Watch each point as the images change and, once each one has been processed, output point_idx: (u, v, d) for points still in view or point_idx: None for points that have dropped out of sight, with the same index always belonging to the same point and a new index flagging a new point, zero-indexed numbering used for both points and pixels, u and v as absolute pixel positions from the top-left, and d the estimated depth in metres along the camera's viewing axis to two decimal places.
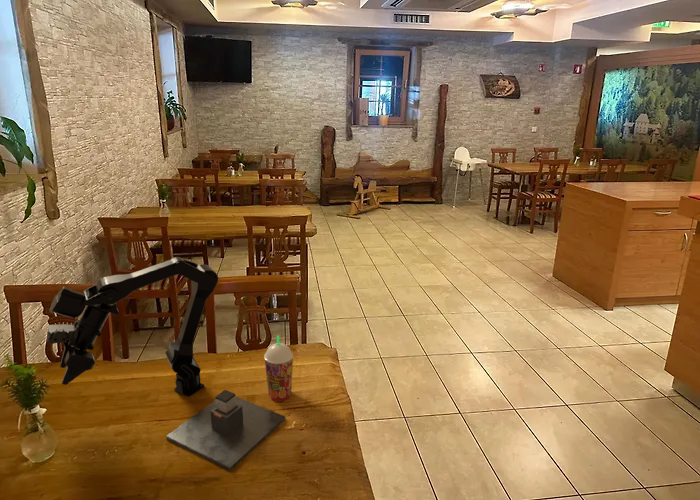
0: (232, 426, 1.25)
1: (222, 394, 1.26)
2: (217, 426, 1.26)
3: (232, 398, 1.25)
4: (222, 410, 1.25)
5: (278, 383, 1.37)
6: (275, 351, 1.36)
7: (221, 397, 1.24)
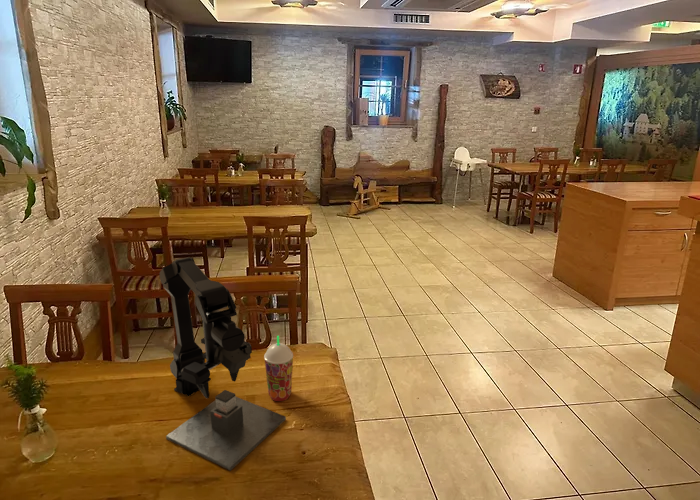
0: (232, 426, 1.25)
1: (222, 394, 1.26)
2: (217, 426, 1.26)
3: (232, 398, 1.25)
4: (222, 410, 1.25)
5: (278, 383, 1.37)
6: (275, 351, 1.36)
7: (221, 397, 1.24)
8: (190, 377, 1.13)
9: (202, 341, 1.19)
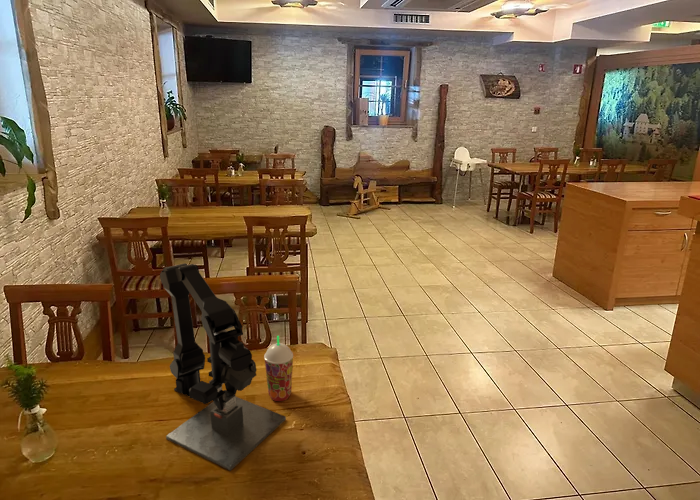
0: (232, 426, 1.25)
1: None
2: (217, 426, 1.26)
3: (232, 398, 1.25)
4: (222, 410, 1.25)
5: (278, 383, 1.37)
6: (275, 351, 1.36)
7: None
8: (198, 397, 1.16)
9: (208, 360, 1.21)
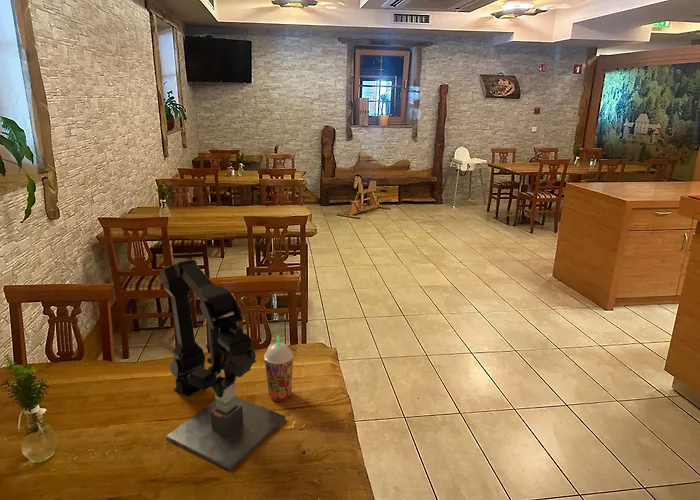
0: (232, 426, 1.25)
1: None
2: (217, 426, 1.26)
3: (231, 385, 1.24)
4: (221, 397, 1.24)
5: (278, 383, 1.37)
6: (275, 351, 1.36)
7: None
8: (197, 383, 1.14)
9: (207, 346, 1.20)
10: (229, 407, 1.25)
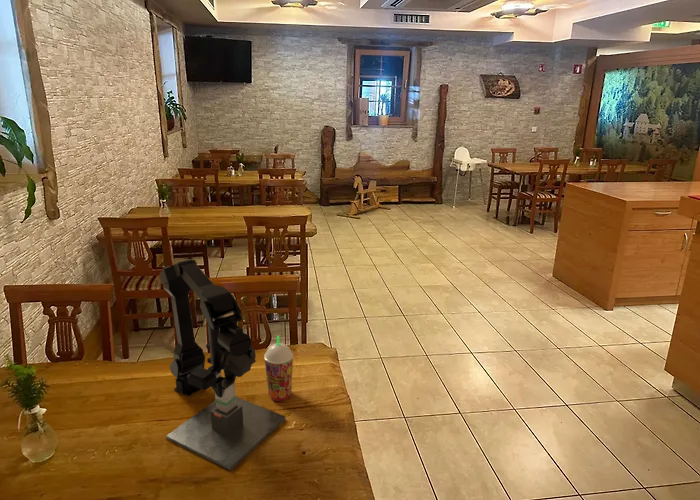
0: (232, 426, 1.25)
1: None
2: (217, 426, 1.26)
3: (231, 385, 1.24)
4: (221, 397, 1.24)
5: (278, 383, 1.37)
6: (275, 351, 1.36)
7: None
8: (197, 383, 1.14)
9: (207, 346, 1.20)
10: (229, 407, 1.25)
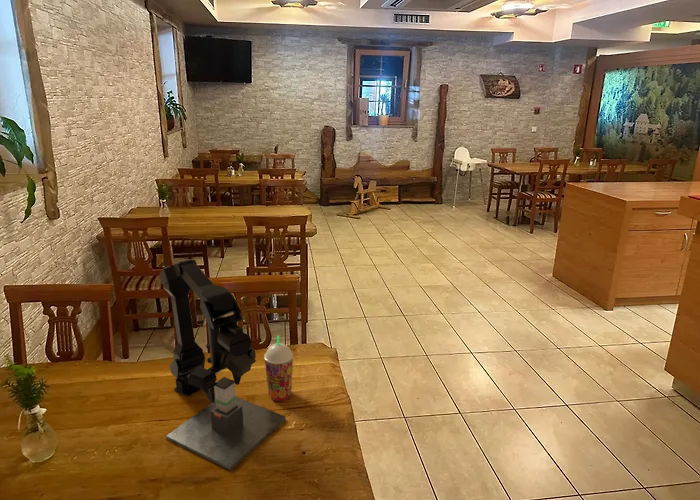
0: (232, 426, 1.25)
1: (221, 381, 1.25)
2: (217, 426, 1.26)
3: (231, 385, 1.24)
4: (221, 397, 1.24)
5: (278, 383, 1.37)
6: (275, 351, 1.36)
7: (220, 384, 1.23)
8: (197, 383, 1.14)
9: (207, 346, 1.20)
10: (229, 407, 1.25)
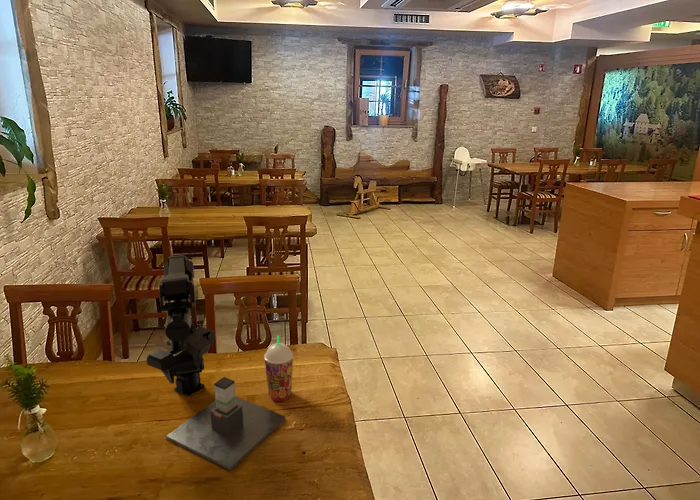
0: (232, 426, 1.25)
1: (221, 381, 1.25)
2: (217, 426, 1.26)
3: (231, 385, 1.24)
4: (221, 397, 1.24)
5: (278, 383, 1.37)
6: (275, 351, 1.36)
7: (220, 384, 1.23)
8: (155, 364, 1.19)
9: None
10: (229, 407, 1.25)
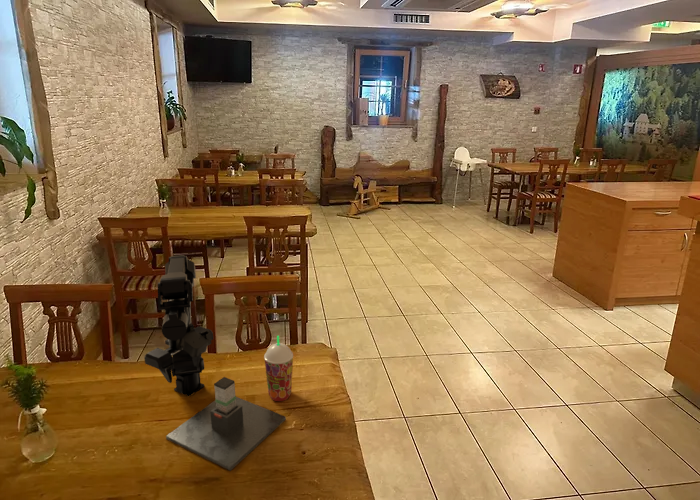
0: (232, 426, 1.25)
1: (221, 381, 1.25)
2: (217, 426, 1.26)
3: (231, 385, 1.24)
4: (221, 397, 1.24)
5: (278, 383, 1.37)
6: (275, 351, 1.36)
7: (220, 384, 1.23)
8: (153, 362, 1.20)
9: None
10: (229, 407, 1.25)
